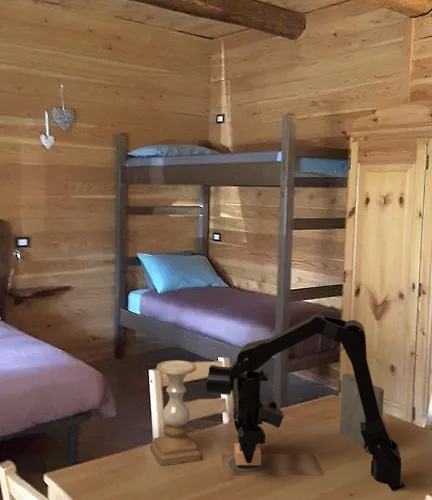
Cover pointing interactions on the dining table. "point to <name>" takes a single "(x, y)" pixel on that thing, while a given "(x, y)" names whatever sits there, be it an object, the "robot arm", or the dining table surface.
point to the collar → (241, 459)
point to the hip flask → (355, 408)
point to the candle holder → (175, 418)
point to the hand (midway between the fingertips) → (247, 457)
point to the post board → (274, 465)
